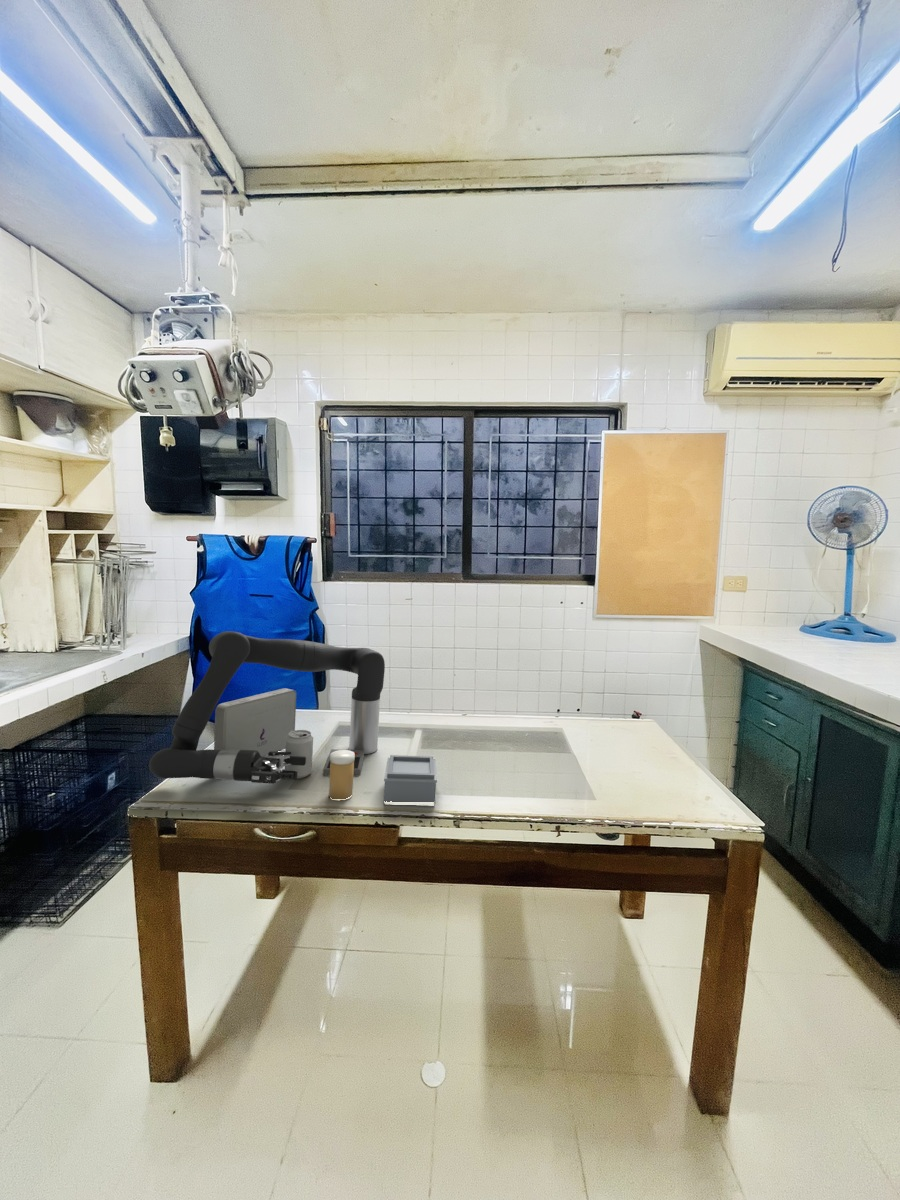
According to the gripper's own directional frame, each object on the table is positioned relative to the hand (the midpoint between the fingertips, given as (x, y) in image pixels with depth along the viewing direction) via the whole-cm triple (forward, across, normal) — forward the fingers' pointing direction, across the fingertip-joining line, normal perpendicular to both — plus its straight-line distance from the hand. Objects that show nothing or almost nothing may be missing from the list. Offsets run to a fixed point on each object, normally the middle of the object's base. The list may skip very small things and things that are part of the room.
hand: (301, 767), depth 120 cm
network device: (-18, +19, +8) cm, 27 cm away
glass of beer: (+10, 0, +7) cm, 13 cm away
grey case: (+28, +2, +7) cm, 29 cm away
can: (-4, +12, +7) cm, 15 cm away
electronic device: (+8, +20, +8) cm, 23 cm away
